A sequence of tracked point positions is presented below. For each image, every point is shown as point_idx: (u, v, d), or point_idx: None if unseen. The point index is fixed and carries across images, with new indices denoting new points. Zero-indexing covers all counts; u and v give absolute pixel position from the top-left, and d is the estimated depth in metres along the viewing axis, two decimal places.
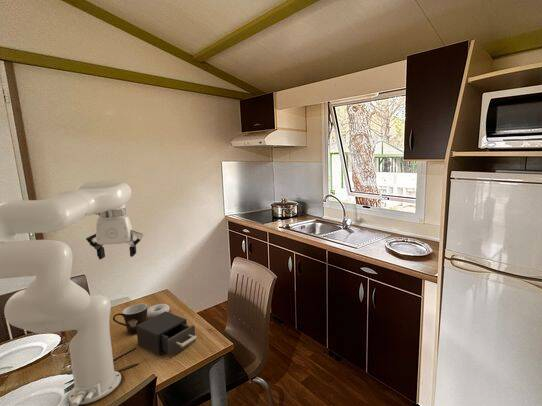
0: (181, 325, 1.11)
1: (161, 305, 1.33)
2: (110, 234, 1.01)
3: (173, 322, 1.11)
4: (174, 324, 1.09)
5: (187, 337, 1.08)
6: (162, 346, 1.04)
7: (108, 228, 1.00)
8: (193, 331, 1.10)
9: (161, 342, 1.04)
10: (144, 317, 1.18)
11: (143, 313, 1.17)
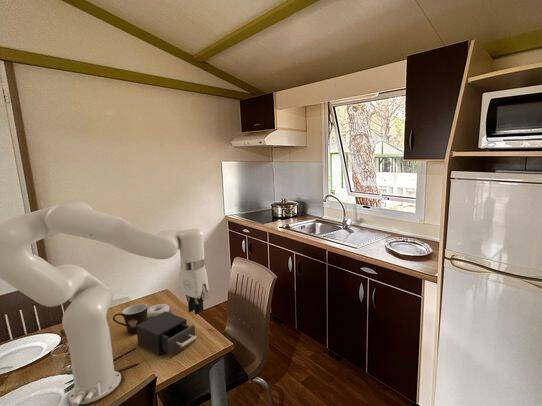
0: (181, 325, 1.11)
1: (161, 305, 1.33)
2: (186, 286, 0.96)
3: (173, 322, 1.11)
4: (174, 324, 1.09)
5: (187, 337, 1.08)
6: (162, 346, 1.04)
7: (185, 279, 0.96)
8: (193, 331, 1.10)
9: (161, 342, 1.04)
10: (144, 317, 1.18)
11: (143, 313, 1.17)
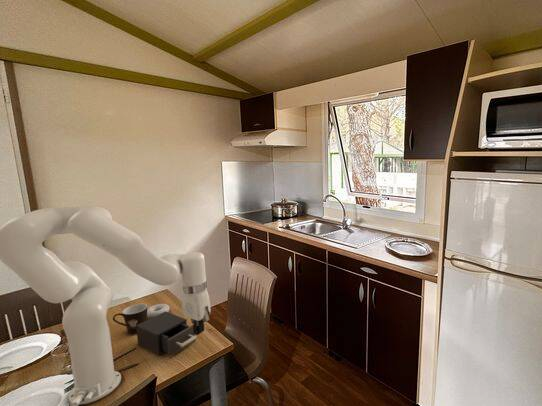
0: (181, 325, 1.11)
1: (161, 305, 1.33)
2: (188, 308, 0.98)
3: (173, 322, 1.11)
4: (174, 324, 1.09)
5: (187, 337, 1.08)
6: (162, 346, 1.04)
7: (187, 302, 0.97)
8: (193, 331, 1.10)
9: (161, 342, 1.04)
10: (144, 317, 1.18)
11: (143, 313, 1.17)
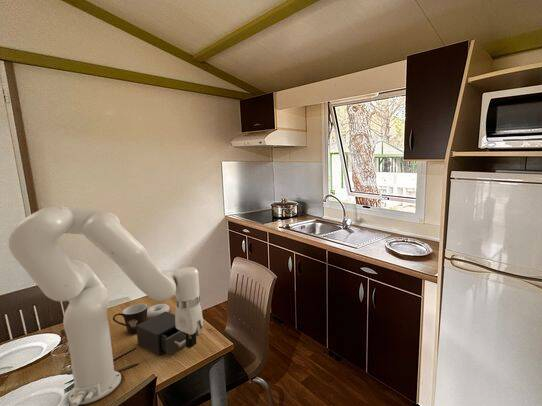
0: None
1: (161, 305, 1.33)
2: (181, 322, 1.00)
3: (173, 322, 1.11)
4: (174, 324, 1.09)
5: None
6: None
7: (180, 316, 1.00)
8: None
9: None
10: (144, 317, 1.18)
11: (143, 313, 1.17)
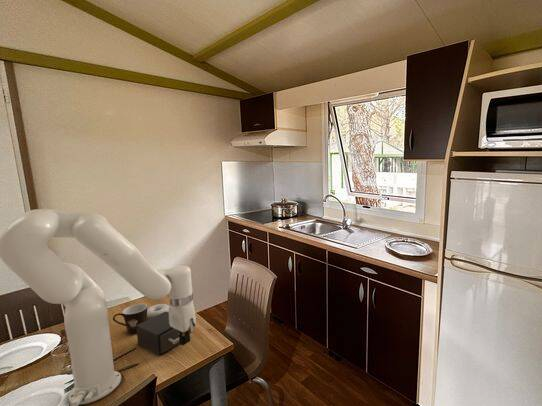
0: None
1: (161, 305, 1.33)
2: (174, 320, 1.02)
3: None
4: None
5: None
6: None
7: (173, 314, 1.01)
8: None
9: None
10: (144, 317, 1.18)
11: (143, 313, 1.17)
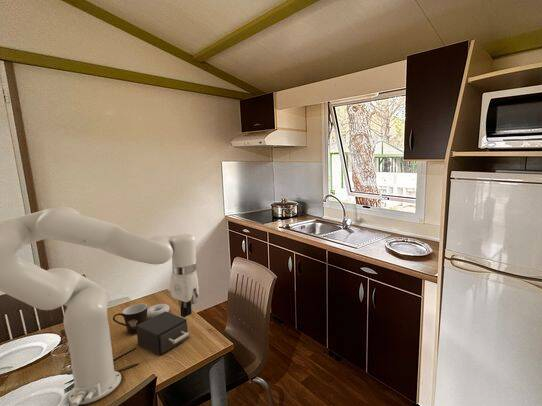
0: None
1: (161, 305, 1.33)
2: (177, 290, 0.98)
3: (173, 322, 1.11)
4: (174, 324, 1.09)
5: (180, 334, 1.10)
6: None
7: (176, 283, 0.98)
8: (186, 328, 1.12)
9: None
10: (144, 317, 1.18)
11: (143, 313, 1.17)
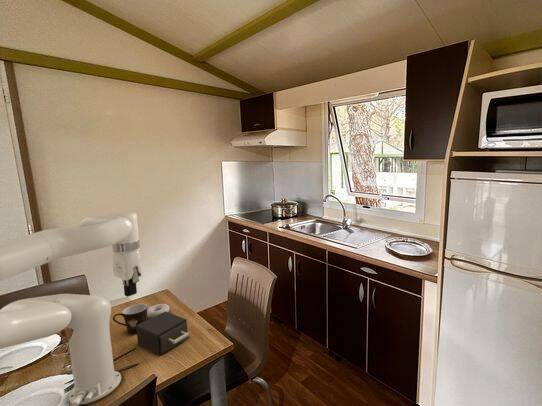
0: None
1: (161, 305, 1.33)
2: (118, 268, 0.96)
3: (173, 322, 1.11)
4: (174, 324, 1.09)
5: (180, 334, 1.10)
6: None
7: (117, 261, 0.96)
8: (186, 328, 1.12)
9: None
10: (144, 317, 1.18)
11: (143, 313, 1.17)
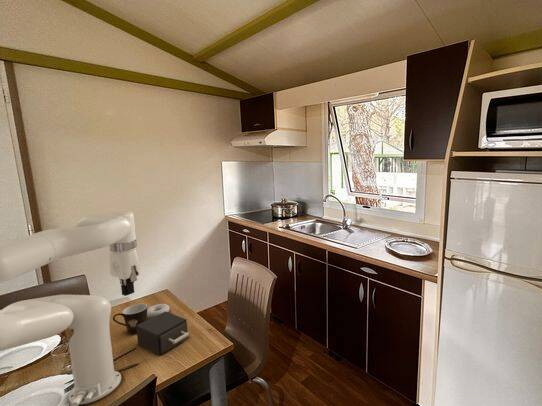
0: None
1: (161, 305, 1.33)
2: (115, 267, 0.96)
3: (173, 322, 1.11)
4: (174, 324, 1.09)
5: (180, 334, 1.10)
6: None
7: (114, 261, 0.96)
8: (186, 328, 1.12)
9: None
10: (144, 317, 1.18)
11: (143, 313, 1.17)
